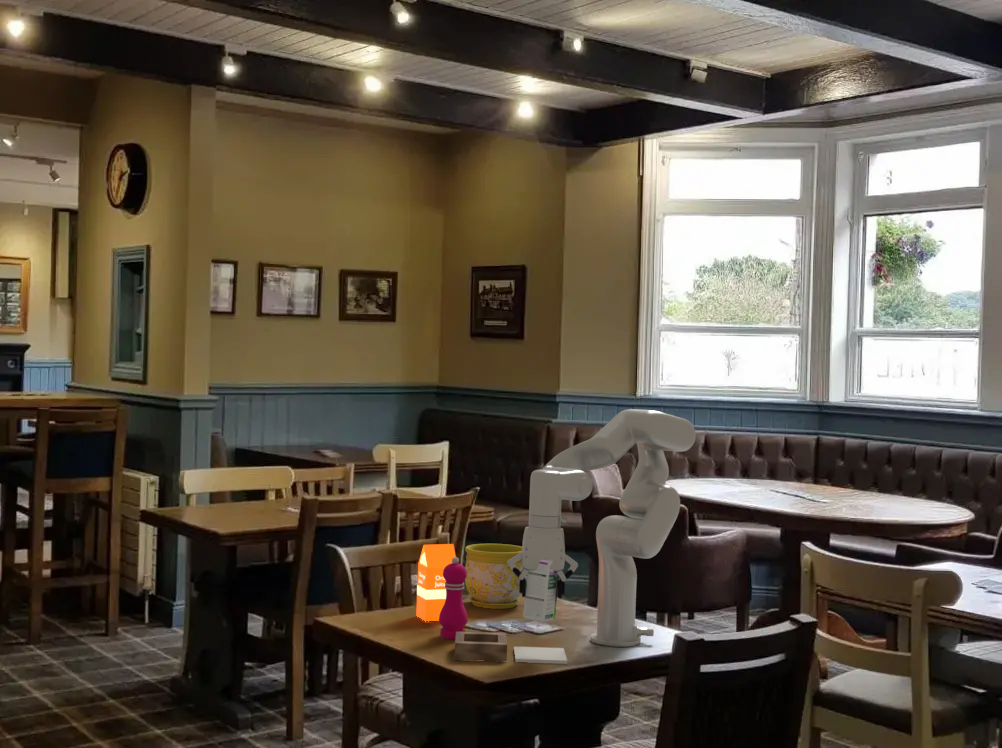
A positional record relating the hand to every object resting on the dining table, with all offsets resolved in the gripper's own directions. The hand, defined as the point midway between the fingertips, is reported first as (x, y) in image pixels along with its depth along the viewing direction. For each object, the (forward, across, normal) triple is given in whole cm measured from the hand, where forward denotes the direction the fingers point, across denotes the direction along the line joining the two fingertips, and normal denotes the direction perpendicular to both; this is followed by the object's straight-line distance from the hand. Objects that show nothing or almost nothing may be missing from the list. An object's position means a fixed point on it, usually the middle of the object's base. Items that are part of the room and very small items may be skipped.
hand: (541, 596), depth 265 cm
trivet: (+14, 0, 0) cm, 14 cm away
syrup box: (+5, +1, 0) cm, 6 cm away
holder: (+14, +14, 0) cm, 20 cm away
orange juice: (+14, +26, -39) cm, 49 cm away
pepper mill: (+14, +21, -18) cm, 31 cm away
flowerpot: (+14, +10, -60) cm, 63 cm away
